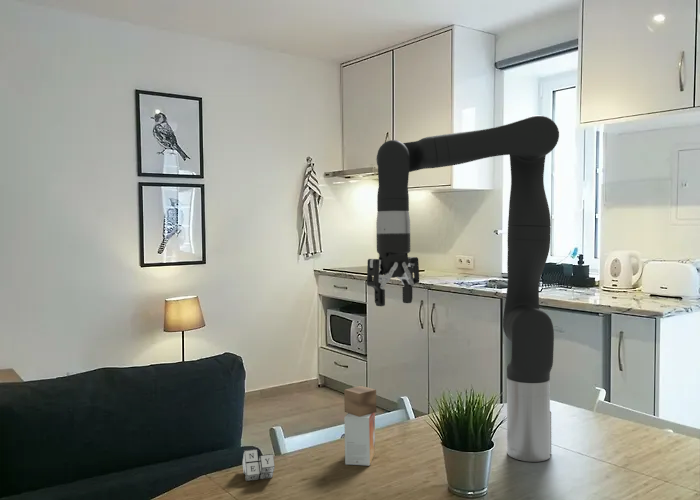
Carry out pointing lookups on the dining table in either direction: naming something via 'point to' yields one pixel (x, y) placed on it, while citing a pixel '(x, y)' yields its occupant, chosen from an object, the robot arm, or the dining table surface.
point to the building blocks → (257, 465)
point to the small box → (359, 439)
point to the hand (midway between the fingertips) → (394, 304)
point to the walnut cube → (360, 400)
